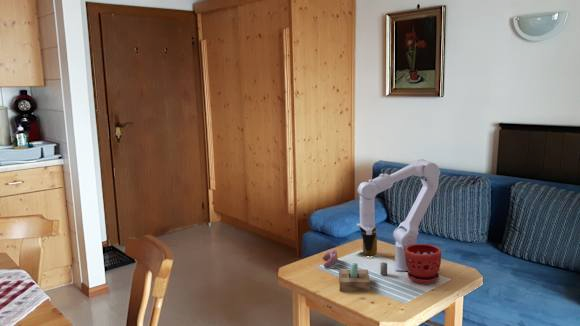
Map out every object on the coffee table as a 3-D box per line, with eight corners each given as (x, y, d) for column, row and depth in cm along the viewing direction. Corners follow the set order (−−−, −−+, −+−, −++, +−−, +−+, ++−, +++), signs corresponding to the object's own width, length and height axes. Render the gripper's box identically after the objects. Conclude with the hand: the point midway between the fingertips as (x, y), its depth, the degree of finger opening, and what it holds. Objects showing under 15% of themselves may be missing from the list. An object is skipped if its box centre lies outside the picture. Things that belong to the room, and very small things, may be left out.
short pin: (386, 273, 189) (386, 262, 188) (387, 276, 186) (387, 264, 186) (380, 273, 189) (380, 262, 188) (380, 276, 187) (380, 265, 186)
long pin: (357, 283, 181) (357, 262, 179) (358, 286, 178) (357, 265, 177) (350, 283, 181) (350, 262, 180) (350, 286, 179) (350, 265, 177)
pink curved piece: (333, 271, 196) (340, 257, 195) (323, 267, 196) (330, 252, 195) (331, 262, 206) (338, 248, 205) (321, 258, 206) (328, 244, 205)
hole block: (367, 278, 185) (367, 269, 184) (370, 290, 174) (370, 281, 173) (338, 278, 186) (338, 269, 185) (339, 291, 175) (339, 281, 174)
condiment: (381, 253, 210) (380, 227, 208) (369, 259, 204) (369, 231, 202) (367, 249, 215) (366, 223, 213) (355, 255, 209) (355, 228, 207)
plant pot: (447, 277, 183) (447, 247, 180) (429, 289, 174) (429, 257, 171) (416, 269, 192) (416, 240, 190) (398, 279, 183) (398, 249, 181)
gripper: (355, 208, 194) (355, 240, 197) (358, 218, 180) (358, 253, 183) (373, 207, 194) (373, 240, 196) (377, 218, 180) (377, 253, 182)
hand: (367, 246), depth 189 cm, fingers open, 7 cm apart
